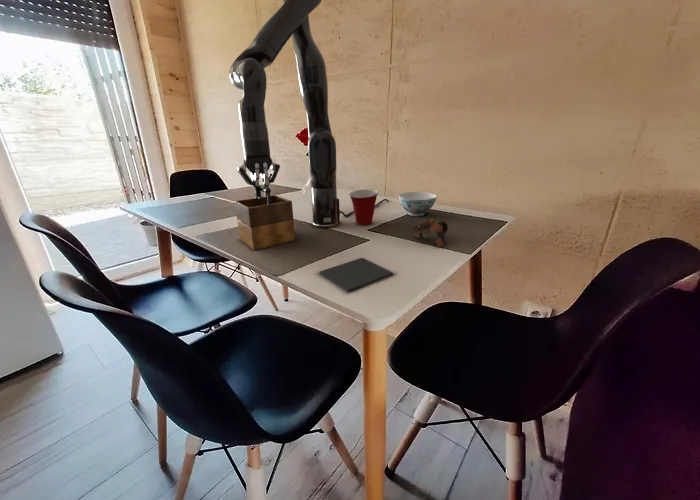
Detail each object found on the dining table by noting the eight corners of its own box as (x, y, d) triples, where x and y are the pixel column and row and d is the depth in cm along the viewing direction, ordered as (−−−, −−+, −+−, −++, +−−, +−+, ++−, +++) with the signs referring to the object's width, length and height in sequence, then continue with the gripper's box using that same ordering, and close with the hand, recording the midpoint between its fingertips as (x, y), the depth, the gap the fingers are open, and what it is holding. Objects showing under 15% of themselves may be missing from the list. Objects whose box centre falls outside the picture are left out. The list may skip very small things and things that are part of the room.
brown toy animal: (434, 252, 92) (422, 227, 91) (415, 255, 100) (403, 232, 100) (460, 234, 97) (449, 210, 96) (440, 238, 105) (429, 217, 105)
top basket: (277, 212, 108) (273, 180, 104) (293, 219, 99) (290, 185, 95) (237, 219, 100) (231, 185, 96) (250, 228, 91) (245, 191, 87)
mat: (362, 259, 86) (362, 257, 86) (392, 274, 78) (392, 272, 77) (319, 273, 79) (319, 271, 78) (347, 292, 70) (347, 289, 70)
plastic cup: (344, 221, 121) (344, 190, 116) (369, 217, 125) (370, 187, 120) (356, 229, 111) (356, 196, 107) (383, 225, 115) (383, 193, 111)
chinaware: (397, 218, 123) (398, 199, 120) (398, 208, 137) (399, 191, 134) (436, 219, 121) (438, 200, 118) (433, 209, 135) (434, 192, 132)
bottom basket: (279, 231, 111) (277, 212, 108) (295, 240, 102) (293, 219, 99) (240, 239, 103) (237, 219, 100) (253, 250, 94) (250, 228, 91)
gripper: (236, 140, 84) (245, 203, 91) (282, 138, 92) (287, 196, 98) (227, 139, 90) (236, 198, 96) (271, 137, 97) (277, 192, 104)
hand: (262, 197), depth 97 cm, fingers closed on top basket
